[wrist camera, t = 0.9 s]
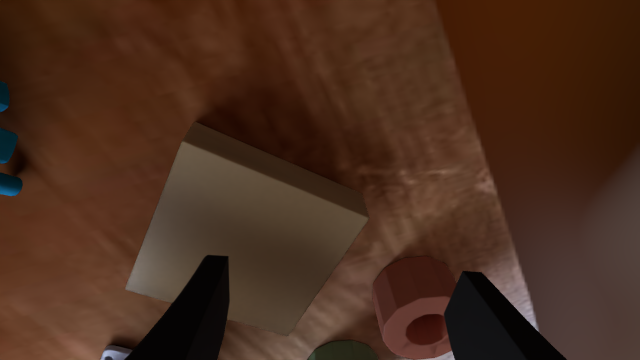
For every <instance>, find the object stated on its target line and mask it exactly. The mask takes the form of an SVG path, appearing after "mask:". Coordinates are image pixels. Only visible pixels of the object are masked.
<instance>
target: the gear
mask: <svg viewBox="0 0 640 360" xmlns="http://www.w3.org/2000/svg"><path fill="white" fill-rule="evenodd" d="M8 106H9V90H8V86H7V84H6V83H4V82H2V81H0V112H2V111H4V110H5V109H6V108H8ZM17 138H18V136H17V135H16V134H15V133H13V132H10V131H8V130H5V129H2V128H0V163H1V164H2V163H7V162H8V161H9V159H10V158H11V156H12V154H13V152H14V149H15V146H16V142H17ZM21 189H22V180H21V179H20V178H19V177H15V176H11V175H8V174H4V173H0V194H4V195H9V196H14V195H17V194H18V193H19V192H20V191H21Z"/></svg>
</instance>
